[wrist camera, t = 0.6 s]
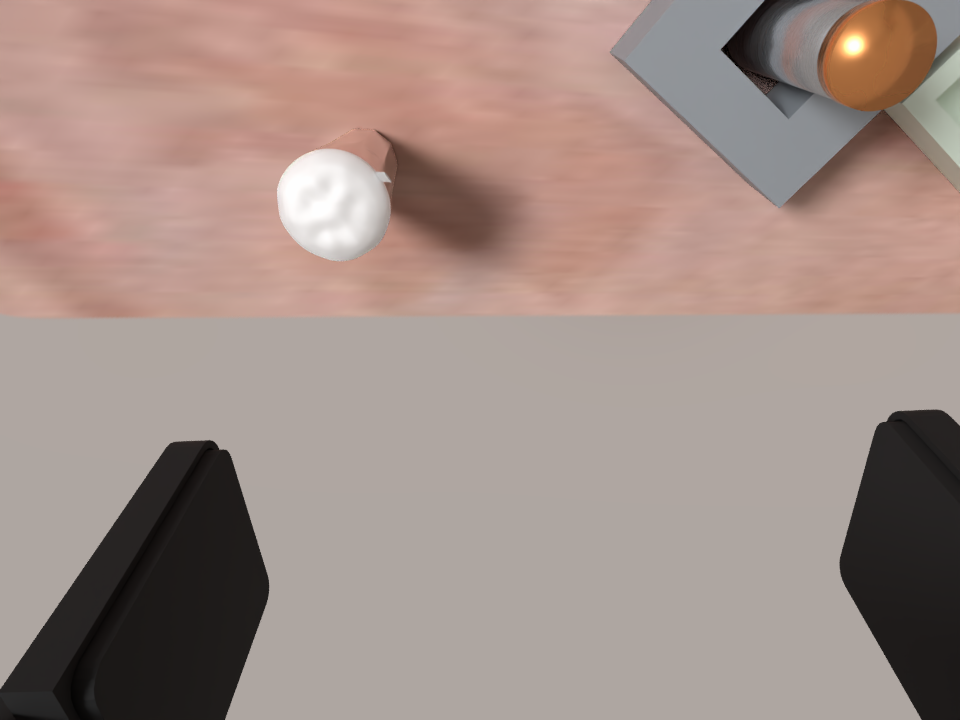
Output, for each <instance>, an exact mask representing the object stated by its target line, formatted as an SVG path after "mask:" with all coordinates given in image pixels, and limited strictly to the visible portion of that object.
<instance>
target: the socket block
mask: <svg viewBox="0 0 960 720" xmlns="http://www.w3.org/2000/svg"><path fill="white" fill-rule="evenodd" d="M763 1H764V0H652V1H651V2H650V3H649V4H648V6H647V7H646V8H645V9H644V11H643V12H642V13H641V14H640V15H639V17H638V18H637V19H636V20H635V22H634V23H633V24H632V25H631V26H630V28H629V29H628V30H627V31H626V33H625V34H624V35H623V36H622V37H621V39H620V40H619V41H618V42H617V44H616V45H615V46H614V47H613V48H612V50H611V51H610V53H611V54H612V55H613V56H614V57H615V58H616V59H617V60H618V61H619V62H620V63H621V64H622V65H623V66H625V67H626V68H627V69H628V70H629V71H630V72H631V73H632V74H633V75H634V76H635V77H636V78H637V79H638V80H639V81H640V82H641V83H642V84H644V85H645V86H646V87H647V88H648V89H649V90H650V91H651V92H652V93H653V94H654V95H655V96H656V97H657V98H658V99H659V100H660V101H661V102H663V103H664V104H665V105H666V106H667V107H668V108H669V109H670V110H671V111H672V112H673V113H674V114H675V115H676V116H677V117H678V118H679V119H680V120H682V121H683V122H684V123H685V124H686V125H687V126H688V127H689V128H690V129H691V130H692V131H693V132H694V133H695V134H696V135H697V136H698V137H699V138H701V139H702V140H703V141H704V142H705V143H706V144H707V145H708V146H709V147H710V148H711V149H712V150H713V151H714V152H715V153H716V154H717V155H718V156H720V157H721V158H722V159H723V160H724V161H725V162H726V163H727V164H728V165H729V166H730V167H731V168H732V169H733V170H734V171H735V172H736V173H737V174H739V175H740V176H741V177H742V178H743V179H744V180H745V181H746V182H747V183H748V184H749V185H750V186H751V187H753V188H754V189H755V190H757V191H758V192H759V193H760V194H762V195H763V196H764V197H765V198H767V199H768V200H769V201H771V202H772V203H773V204H774V205H776V206H777V207H778V208H780V207H781V206H782V205H783V204H784V203H785V202H786V201H787V200H788V199H789V198H790V197H792V196H793V195H794V194H795V193H796V192H797V191H798V190H799V189H800V188H801V187H802V186H803V185H804V184H805V183H806V182H807V181H808V180H809V179H810V178H811V177H812V176H813V175H814V174H815V173H817V172H818V171H819V170H820V169H821V168H822V167H823V166H824V165H825V164H826V163H827V162H828V161H829V160H830V159H831V158H832V157H833V156H834V155H835V154H836V153H837V152H838V151H839V150H840V149H842V148H843V147H844V146H845V145H846V144H847V143H848V142H849V141H850V140H851V139H852V138H853V137H854V136H855V135H856V134H857V133H858V132H859V131H860V130H861V129H862V128H863V127H864V126H865V125H867V124H868V123H869V122H870V121H871V120H872V119H873V118H874V117H875V116H876V115H877V114H878V113H879V112H880V111H881V110H878V111H860V110H856V109H853V108H850V107H847V106H844V105H841V104H839V103H837V102H835V101H833V100H832V99H829V98H826V97H823V96H820V95H818V94H815V93H812V92H809V91H806V90H803V89H800V88H797V87H795V86H792V85H789V84H786V83H783V82H780V81H779V82H778V83H777V84H776V85H775V86H774V87H773V88H772V89H771V90H770V91H769V92H768V93H767V95H766V96H765V95H764V94H763V93H762V92H761V91H760V90H759V89H758V88H757V87H756V86H755V85H754V83H753V82H752V81H751V80H750V79H749V78H748V77H747V76H746V75H745V74H744V73H743V72H742V71H741V70H740V69H739V68H738V67H737V66H736V65H735V64H734V63H733V62H732V61H731V60H730V59H729V58H728V57H727V56H726V55H725V54H724V53H723V52H722V51H721V48H722V47H723V46H724V45H725V44H726V43H727V42H728V41H729V40H730V38H731V37H732V36H733V35H734V34H735V33H736V32H737V31H738V29H739V28H740V27H741V26H742V25H743V24H744V23H745V22H746V20H747V19H748V18H749V17H750V16H751V15H752V14H753V13H754V12H755V10H756V9H757V8H758V7H759V6H760V5H761V4H762V3H763ZM907 1H910V2H914V3H916V4H918V5H920V6H921V7H922V8H924V9H925V10H926V11H927V12H928V13H929V15H930V16H931V18H932V20H933V22H934V24H935V28H936V32H937V49H936V54H935V58H936V57H937V56H938V55H939V54H941V53H942V52H943V51H944V50H945V49H946V48H947V47H948V46H949V45H950V44H951V43H952V42H953V41H954V40H955V39H956V38H957V37H958V36H959V35H960V0H907ZM935 58H934V59H935Z"/></svg>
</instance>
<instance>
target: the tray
mask: <svg viewBox="0 0 960 720" xmlns="http://www.w3.org/2000/svg"><path fill="white" fill-rule="evenodd" d="M884 110H885V111H886V113H887V114H888V115H889V116H890V117H891V118H892V119H893V120H894V121H895V122H896V123H897V125H898V126H899V127H900V128H901V129H902V130H903V131H904V132H905V133H906V134H907V136H908V137H909V138H910V139H911V140H912V141H913V142H914V143H915V144H916V145H917V146H918V148H919V149H920V150H921V151H922V152H923V153H924V154H925V155H926V156H927V157H928V158H929V160H930V161H931V162H932V163H933V164H934V165H935V166H936V167H937V168H938V169H939V171H940V172H941V173H942V174H943V175H944V176H945V177H946V178H947V179H948V180H949V181H950V183H951V184H952V185H953V186H954V187H955V188H956V189H957V190H958V191H959V192H960V35H959V36H958V37H957V38H956V39H955V40H954V41H953V42H952V43H951V44H950V45H949V46H948V47H947V48H946V49H945V50H944V51H943V52H942V53H941V54H939V55H938V56H937V57H936V58H935V59H934V61H933V63H932V66H931V68H930V70H929V72H928V74H927V75H926V77H925V78H924V80H923V81H922V83H921V84H920V85H919V86H918V87H917V88H916V89H915V91H914V92H913V93H911V94H910V95H909V96H908V97H907V98H905V99H904V100H902V101H901V102H899V103H897V104H896V105H894V106H891V107H889V108H886V109H884Z"/></svg>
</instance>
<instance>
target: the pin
mask: <svg viewBox="0 0 960 720" xmlns="http://www.w3.org/2000/svg"><path fill="white" fill-rule="evenodd" d="M728 49H729V52H730V55H731V57H732V59H733V60H734V61H735V63H736V64H738V65H739V66H740V67H742V68H744V69H746V70H749V71H751V72H754V73H757V74H760V75H763V76H766V77H769V78H772V79H774V80H777V81H780V82H783V83H786V84H789V85H792V86H795V87H797V88H800V89H803V90H806V91H809V92H812V93H815V94H818V95H820V96H823V97H826V98H829V99H832V100H833V101H835V102H837V103H839V104H841V105H844V106H847V107H850V108H853V109H856V110H860V111H878V110H883V109H886V108H889V107H891V106H894V105H896V104H897V103H899V102H901V101H902V100H904V99H905V98H907V97H908V96H909V95H910V94H911V93H913V92H914V91H915V89H916V88H917V87H918V86H919V85H920V84H921V83H922V81H923V80H924V78H925V77H926V75H927V74H928V72H929V70H930V68H931V66H932V63H933V61H934V58H935V54H936V49H937V32H936V28H935V24H934V22H933V20H932V18H931V16H930V15H929V13H928V12H927V11H926V10H925V9H924V8H922V7H921V6H920V5H918V4H916V3H914V2H910V1H907V0H764V1H763V3H762V4H761V5H760V6H759V7H758V8H757V9H756V10H755V12H754V13H753V14H752V15H751V16H750V17H749V18H748V19H747V20H746V22H745V23H744V24H743V25H742V26H741V27H740V28H739V29H738V31H737V32H736V33H735V34H734V35H733V36H732V37H731V38H730V40H729V41H728Z"/></svg>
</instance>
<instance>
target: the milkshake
mask: <svg viewBox="0 0 960 720" xmlns="http://www.w3.org/2000/svg"><path fill="white" fill-rule="evenodd" d="M397 164H398V163H397V160H396V157H395V154H394V150H393V147H392V144H391V142H389V141H388V140H387V139H385V138H384V137H383V136H382V135H380V134H379V133H378V132H377V131H375V130H370V129H352V130H350V131H349V132H347V133H345V134H344V135H342V136H340V137H339V138H337V139H335V140H334V141H332V142H330V143H328V144H326V145H324V146H321V147H319V148H317V149H315V150H313V151H311V152H308V153H306V154H304V155H302V156H301V157H299V158H298V159H296V160H295V161H294V162H293V163H291V164H290V166H289V167H288V168H287V169H286V171H285V172H284V174H283V175H282V177H281V179H280V182H279V185H278V189H277V199H278V208H279V214H280V218H281V221H282V223H283V225H284V227H285V228H286V230H287V231H288V233H289V234H290V235H291V236H292V238H293V239H294V240H295V241H296V242H297V243H298V244H299V245H300V246H302V247H303V248H304V249H306V250H307V251H309V252H311V253H313V254H315V255H317V256H320V257H322V258H325V259H329V260H333V261H348V260H352V259H355V258H358V257H360V256H362V255H364V254H366V253H367V252H369V251H370V250H372V249H373V248H375V247H376V246H377V245H378V244H379V243H380V241H381V240H382V238H383V237H384V235H385V232H386V230H387V227H388V224H389V220H390V214H391V201H392V191H393V185H394V180H395V175H396V170H397Z"/></svg>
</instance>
